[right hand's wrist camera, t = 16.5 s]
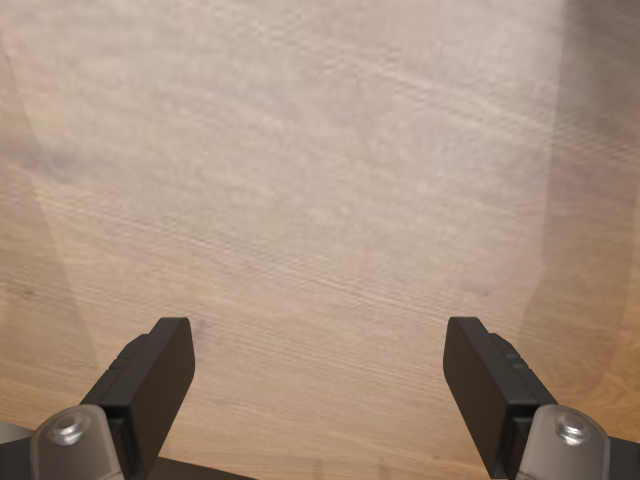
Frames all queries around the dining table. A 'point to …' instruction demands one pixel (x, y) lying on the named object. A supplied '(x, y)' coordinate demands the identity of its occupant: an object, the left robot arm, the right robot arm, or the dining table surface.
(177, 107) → the dining table surface
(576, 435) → the right robot arm
